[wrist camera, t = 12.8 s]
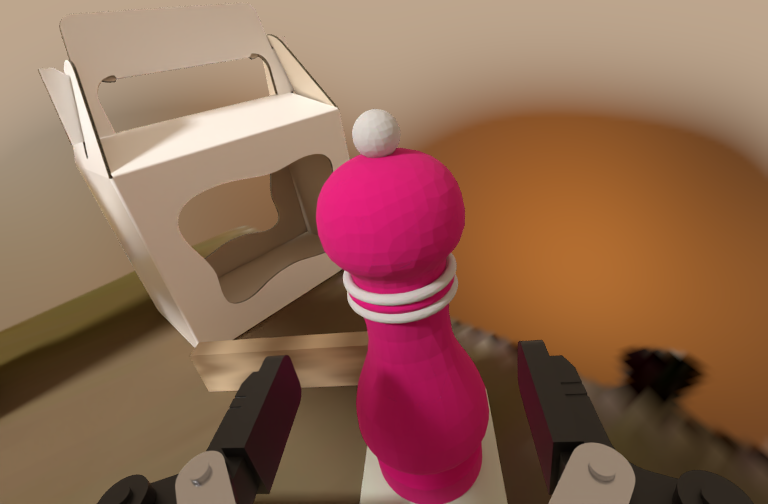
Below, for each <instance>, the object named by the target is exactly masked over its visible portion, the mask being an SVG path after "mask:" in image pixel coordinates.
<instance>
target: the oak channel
mask: <svg viewBox="0 0 768 504" xmlns="http://www.w3.org/2000/svg"><path fill="white" fill-rule="evenodd" d="M368 339H369V338H368V331H361V332H346V333H331V334H316V335H301V336H286V337H270V338H255V339H240V340H225V341H210V342H199V343H198V344H197V346H196V347H195V349H194V350H193V351H192V353H191V354H190V355H189V357H190V358H191V360H192V362H193V364H194V365H195V367H196V369H197V371H198V373H199V374H200V376H201V378H202V380H203V382H204V383H205V385H206V387H207V389H208V391H209V392H214V391H237V390H239V388H240V386H241V384H242V383H243V382H244V381H245V380H246V378H247V377H248V376H249V375H250V374H251V373H252V372H257V371H259V369H260V367H261V365H262V363H263V361H264V359H265V358H266V357H267V356H278V355H288V356H289V357H290V358H291V361H292V363H293V366H294V369H295V371H296V374H297V376H298V379H299V382H300V385H301V388H306V387H330V386H353V385H358V381H359V377H360V374H361V371H362V368H363V364H364V361H365V358H366V355H367V351H368Z"/></svg>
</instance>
